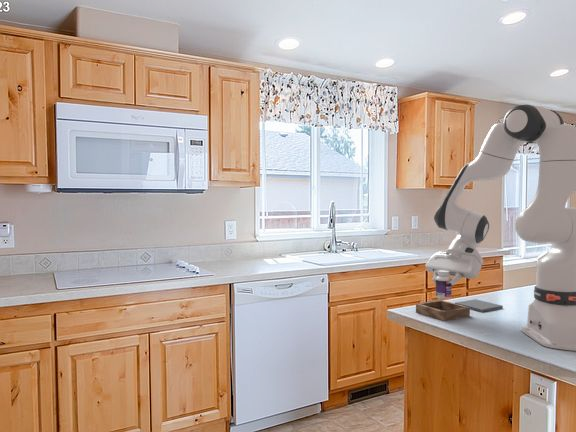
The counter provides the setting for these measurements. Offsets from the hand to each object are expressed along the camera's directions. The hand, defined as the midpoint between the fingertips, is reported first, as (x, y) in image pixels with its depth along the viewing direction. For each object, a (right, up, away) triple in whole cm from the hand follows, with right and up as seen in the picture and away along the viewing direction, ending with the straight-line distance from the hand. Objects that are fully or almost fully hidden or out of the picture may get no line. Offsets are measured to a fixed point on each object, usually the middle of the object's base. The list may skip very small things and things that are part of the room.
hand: (442, 282), depth 156 cm
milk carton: (+60, -10, +39) cm, 73 cm away
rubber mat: (+18, -11, +12) cm, 24 cm away
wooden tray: (0, -11, +1) cm, 12 cm away
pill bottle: (+1, -6, 0) cm, 6 cm away
